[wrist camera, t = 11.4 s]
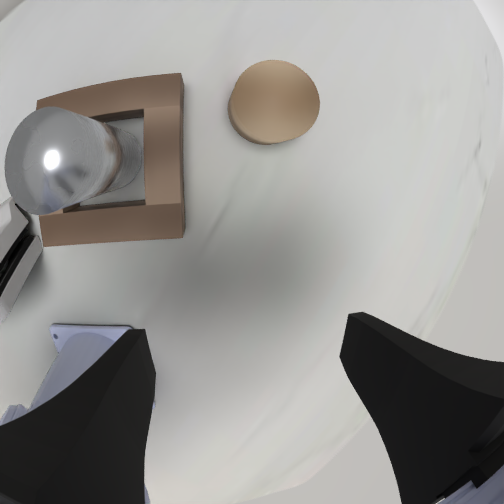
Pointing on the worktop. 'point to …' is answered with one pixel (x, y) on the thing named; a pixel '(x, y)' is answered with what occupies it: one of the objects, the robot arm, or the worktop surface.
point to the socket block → (155, 163)
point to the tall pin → (67, 160)
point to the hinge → (14, 255)
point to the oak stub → (273, 103)
